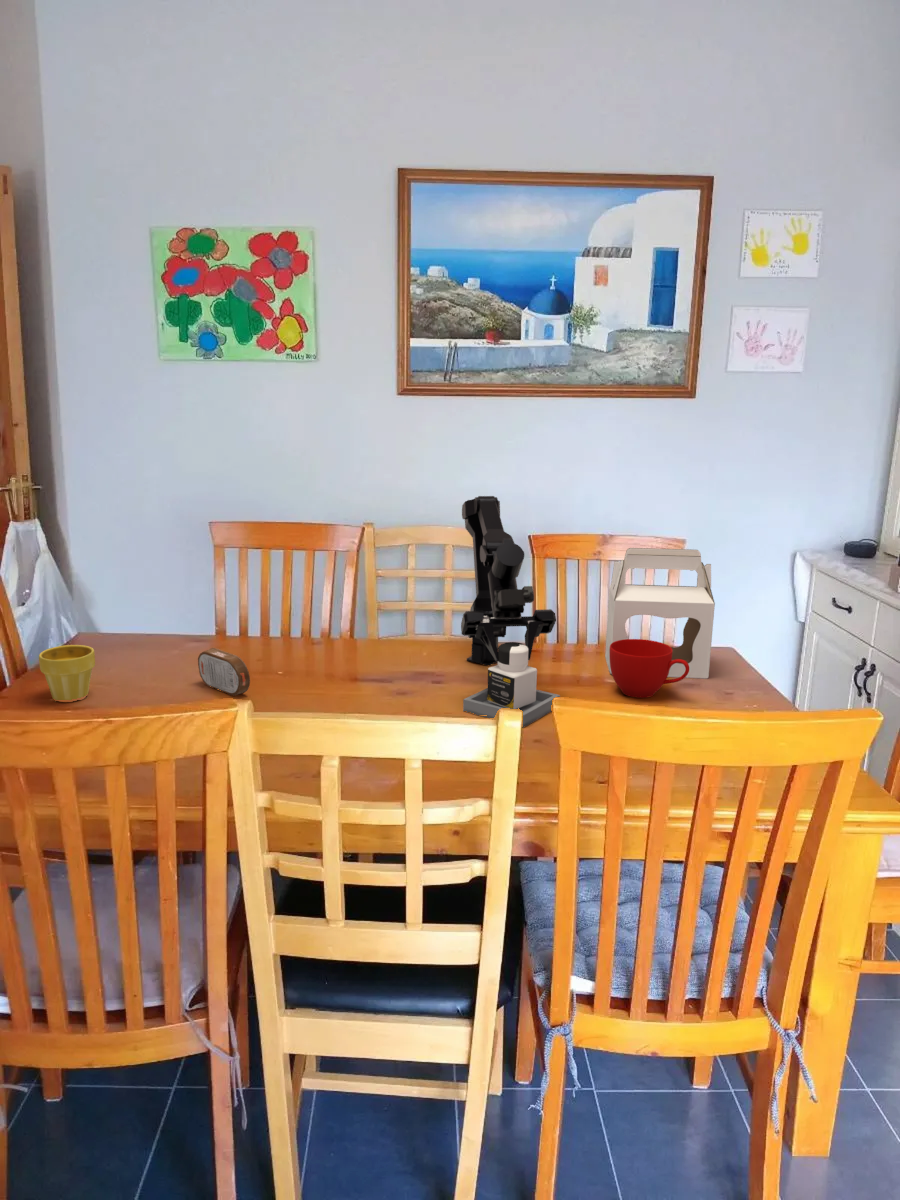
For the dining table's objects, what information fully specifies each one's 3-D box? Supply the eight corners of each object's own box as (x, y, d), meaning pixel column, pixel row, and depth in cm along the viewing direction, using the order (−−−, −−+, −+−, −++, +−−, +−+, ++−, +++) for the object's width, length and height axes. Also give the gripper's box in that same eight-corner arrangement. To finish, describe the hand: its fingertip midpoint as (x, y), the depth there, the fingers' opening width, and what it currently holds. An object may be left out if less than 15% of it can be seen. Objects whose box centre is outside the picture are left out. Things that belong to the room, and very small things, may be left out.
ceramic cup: (676, 711, 177) (680, 664, 174) (597, 695, 186) (600, 649, 183) (695, 693, 188) (699, 648, 185) (620, 678, 196) (623, 635, 194)
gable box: (608, 675, 199) (616, 553, 192) (604, 657, 211) (610, 542, 205) (709, 679, 197) (720, 555, 190) (698, 661, 210) (708, 545, 203)
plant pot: (95, 703, 177) (91, 657, 175) (39, 708, 174) (34, 661, 172) (100, 687, 187) (96, 642, 185) (47, 691, 184) (42, 646, 182)
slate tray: (501, 692, 187) (501, 681, 186) (559, 706, 179) (560, 695, 178) (463, 711, 176) (463, 699, 175) (523, 727, 168) (523, 715, 167)
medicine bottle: (486, 701, 178) (487, 644, 174) (509, 692, 182) (511, 637, 179) (513, 711, 173) (515, 652, 170) (536, 702, 178) (538, 645, 174)
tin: (252, 696, 182) (250, 658, 180) (239, 700, 180) (237, 661, 178) (209, 680, 192) (206, 643, 190) (196, 684, 190) (194, 646, 188)
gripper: (464, 572, 175) (471, 642, 167) (555, 570, 177) (567, 639, 169) (457, 600, 184) (464, 668, 176) (545, 599, 187) (555, 665, 179)
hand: (513, 659), depth 175 cm, fingers closed on medicine bottle, 6 cm apart
